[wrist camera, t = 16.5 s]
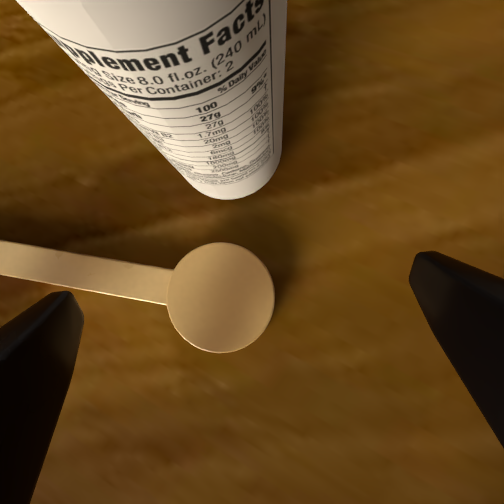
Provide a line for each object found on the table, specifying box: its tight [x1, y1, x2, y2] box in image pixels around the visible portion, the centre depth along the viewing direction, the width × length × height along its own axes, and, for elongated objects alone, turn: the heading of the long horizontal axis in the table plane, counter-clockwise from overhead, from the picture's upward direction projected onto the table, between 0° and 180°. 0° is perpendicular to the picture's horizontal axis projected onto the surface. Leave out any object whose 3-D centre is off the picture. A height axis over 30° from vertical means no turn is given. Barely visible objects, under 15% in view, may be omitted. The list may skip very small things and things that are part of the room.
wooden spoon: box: [0, 240, 275, 353], centre depth 18 cm, size 20×6×1 cm, turn 81°
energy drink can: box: [16, 0, 287, 199], centre depth 11 cm, size 6×6×15 cm
